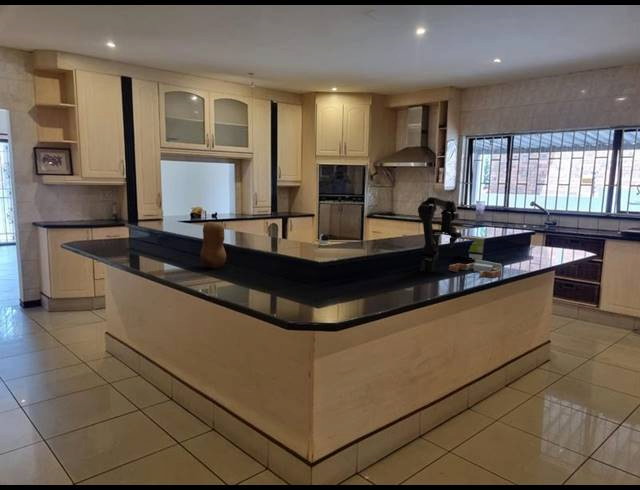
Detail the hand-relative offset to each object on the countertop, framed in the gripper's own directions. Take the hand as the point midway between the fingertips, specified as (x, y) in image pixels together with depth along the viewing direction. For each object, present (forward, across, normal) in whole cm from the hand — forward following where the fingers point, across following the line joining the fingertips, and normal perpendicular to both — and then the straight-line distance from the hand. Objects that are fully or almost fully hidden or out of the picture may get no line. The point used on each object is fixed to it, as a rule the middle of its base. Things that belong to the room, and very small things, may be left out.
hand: (443, 247), depth 270 cm
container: (+12, +68, +35) cm, 77 cm away
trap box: (+12, -20, -7) cm, 24 cm away
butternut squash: (+12, +68, +116) cm, 135 cm away
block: (+12, -20, -12) cm, 26 cm away
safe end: (+12, -20, -18) cm, 29 cm away
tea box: (+12, +7, -44) cm, 46 cm away
